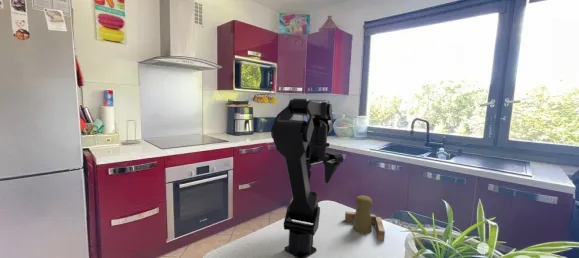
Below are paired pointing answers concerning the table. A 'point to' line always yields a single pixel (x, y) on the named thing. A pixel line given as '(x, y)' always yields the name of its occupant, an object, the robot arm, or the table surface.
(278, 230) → the table surface
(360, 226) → the olive yellow tapered cone
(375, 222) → the v block
